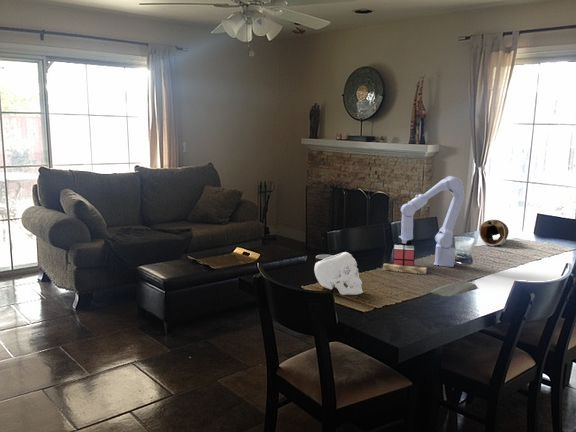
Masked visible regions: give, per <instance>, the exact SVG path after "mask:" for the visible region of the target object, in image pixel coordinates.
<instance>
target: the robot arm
mask: <svg viewBox="0 0 576 432" xmlns="http://www.w3.org/2000/svg"><path fill="white" fill-rule="evenodd" d="M464 189H465V188H464V183H463V181H462V179H460V178H459V177H455V176H453V175H448V176H446V177H445V178H443V179H441V180H440V181H438V183H436V184H435V185H433V187H431V188H430V189H428V191H426V192H424V193H423V194H421V193H419V194H415V195H414V196H415V197H414V198H412V199H411V200H408V201H407V203H404V204H402V206H401V207H400V212H401V224H400V226H401V227H400V229H401V230H400V231H401V232H400V235H399V236H398V238H399V239H401V240H400V243H401V245H404V246H405V245H408V246H412V244H413V242H414V241H413V239H414V215H415V213H416V212H417V211H418V210H420V209H421V208H422V207H424V206H425V205H427V203H428V200H429V199H432V198H433V197H434V196H436V195H438V194H439V193H440V192H442V191H449V192H450V194H451V195H452V199H451V201H450V204H449V207H448V210H447V213H446V215H445V218H444V220H443V223H442V226H441V227H440V229H439V231H438V232H437V233H436V235H434V240H435V242H436V245H435V254H434V262H433V265H432V266H438V265H439V267H440V266H441V267H452V268H454V265H455V263H456V258H455V257H456V248H455V247H452V245H453V237H454V227H455V225H456V222H457V219H458V216H459V213H460V210H461V209H462V205H463V204H464V203H463V202H464V200H465V197H466V195H465V190H464Z"/></svg>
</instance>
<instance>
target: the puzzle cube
mask: <svg viewBox="0 0 576 432" xmlns="http://www.w3.org/2000/svg"><path fill="white" fill-rule="evenodd" d="M392 251H393V252H392V254H393V255H392V264H395V265H405V266H415V253H416V252H415V245H411V246H408V245H405V246H404V245H402V244H394V245H393V249H392Z"/></svg>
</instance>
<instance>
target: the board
mask: <svg viewBox="0 0 576 432" xmlns="http://www.w3.org/2000/svg"><path fill="white" fill-rule="evenodd" d="M382 270H383V271H388V270H391V271H390V272H398V271H399V272H400V273H408V274H417V273H418V274H419V275H426V274H427V267H424V266H423V267H422V266H415V265H414V266H405V265H395V264H393V263H392V264H391V263H383V265H382ZM418 274H417V275H418Z"/></svg>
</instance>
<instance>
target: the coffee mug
mask: <svg viewBox="0 0 576 432" xmlns="http://www.w3.org/2000/svg"><path fill="white" fill-rule="evenodd" d="M331 256H334V255H332V254H318V255H316V256H315V261H316V262H315V264H316V263H317V262H319V261H321V260H323V259H326V258H328V257H331Z"/></svg>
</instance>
